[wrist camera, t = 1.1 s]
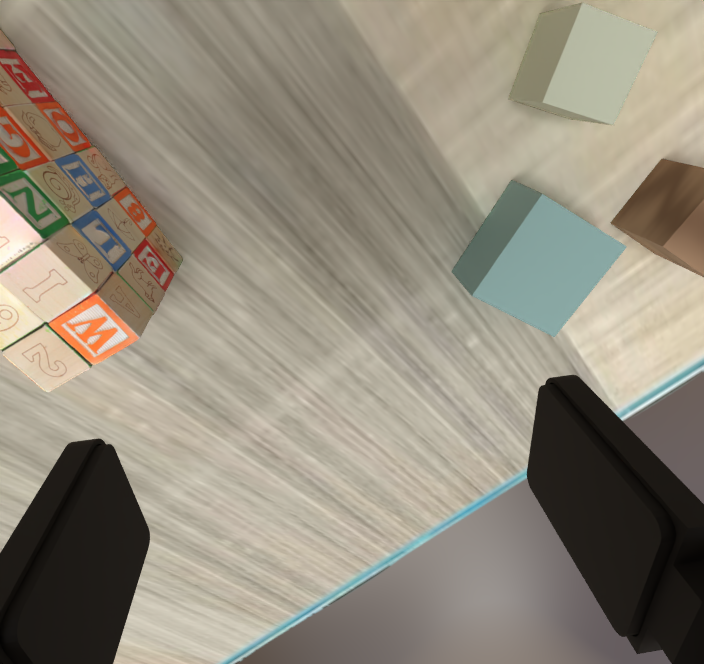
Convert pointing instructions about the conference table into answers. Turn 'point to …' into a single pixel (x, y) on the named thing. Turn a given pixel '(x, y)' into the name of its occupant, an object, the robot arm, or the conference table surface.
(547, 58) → the sage cube
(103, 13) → the conference table surface
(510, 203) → the teal block
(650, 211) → the walnut cube
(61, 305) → the stack of blocks
